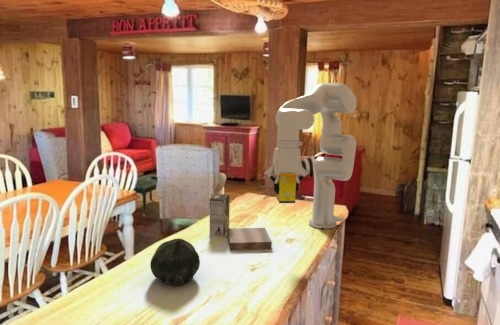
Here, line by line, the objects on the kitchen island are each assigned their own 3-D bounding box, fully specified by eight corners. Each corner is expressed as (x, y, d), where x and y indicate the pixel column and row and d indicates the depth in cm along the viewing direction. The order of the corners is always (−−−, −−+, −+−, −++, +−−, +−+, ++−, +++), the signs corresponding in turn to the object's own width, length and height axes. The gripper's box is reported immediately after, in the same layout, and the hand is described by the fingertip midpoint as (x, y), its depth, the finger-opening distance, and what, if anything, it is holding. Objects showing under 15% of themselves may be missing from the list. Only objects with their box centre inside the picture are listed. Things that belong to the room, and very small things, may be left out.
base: (264, 234, 166) (264, 227, 165) (271, 249, 150) (271, 241, 150) (227, 235, 164) (227, 228, 163) (230, 250, 148) (230, 242, 148)
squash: (160, 250, 133) (153, 228, 121) (204, 253, 133) (200, 232, 121) (151, 291, 124) (142, 272, 113) (197, 294, 124) (193, 276, 112)
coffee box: (215, 228, 171) (215, 193, 169) (229, 230, 170) (230, 194, 167) (209, 236, 163) (209, 198, 160) (223, 237, 161) (224, 199, 159)
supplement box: (276, 199, 146) (277, 170, 144) (291, 198, 147) (293, 170, 145) (279, 203, 141) (280, 173, 139) (295, 203, 141) (296, 173, 139)
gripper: (307, 143, 145) (305, 190, 148) (262, 143, 142) (260, 191, 146) (314, 146, 138) (311, 195, 141) (266, 146, 135) (264, 196, 138)
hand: (285, 192), depth 143 cm, fingers closed on supplement box, 6 cm apart
